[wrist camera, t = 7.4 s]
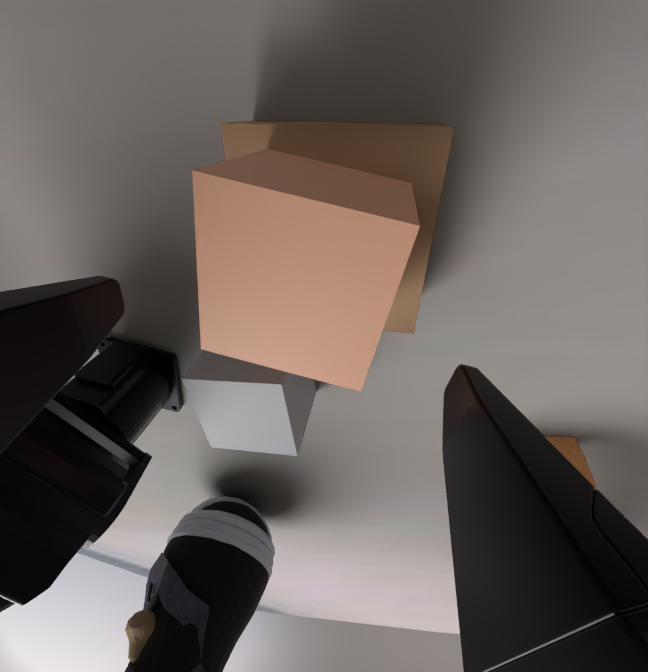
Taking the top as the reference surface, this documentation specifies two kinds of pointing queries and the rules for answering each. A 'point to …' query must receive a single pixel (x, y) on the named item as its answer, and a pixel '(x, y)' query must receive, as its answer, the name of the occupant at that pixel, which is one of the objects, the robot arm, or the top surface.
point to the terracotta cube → (299, 262)
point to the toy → (202, 589)
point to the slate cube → (249, 404)
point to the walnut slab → (373, 157)
